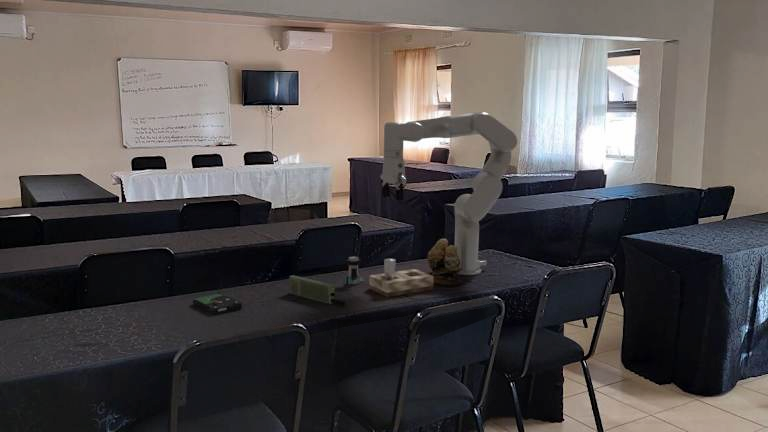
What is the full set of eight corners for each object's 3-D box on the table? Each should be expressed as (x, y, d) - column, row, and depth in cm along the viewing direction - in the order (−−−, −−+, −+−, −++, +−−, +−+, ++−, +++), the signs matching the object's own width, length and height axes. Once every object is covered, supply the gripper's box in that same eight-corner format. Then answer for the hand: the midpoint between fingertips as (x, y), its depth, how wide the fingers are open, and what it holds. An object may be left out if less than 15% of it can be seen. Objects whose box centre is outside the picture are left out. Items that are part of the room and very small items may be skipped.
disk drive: (243, 310, 217) (220, 300, 228) (242, 302, 217) (220, 292, 227) (214, 317, 210) (192, 305, 221) (214, 308, 210) (192, 297, 220)
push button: (359, 280, 254) (359, 255, 252) (366, 284, 249) (366, 258, 248) (343, 282, 250) (344, 256, 249) (350, 286, 246) (350, 259, 244)
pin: (391, 284, 243) (391, 258, 241) (397, 287, 240) (397, 260, 238) (382, 286, 241) (382, 259, 239) (388, 288, 237) (388, 261, 236)
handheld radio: (295, 292, 238) (348, 305, 223) (288, 294, 235) (341, 308, 220) (294, 274, 236) (347, 286, 221) (287, 276, 234) (340, 289, 219)
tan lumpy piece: (471, 284, 251) (472, 240, 248) (447, 290, 244) (449, 244, 241) (439, 274, 265) (440, 232, 262) (416, 279, 258) (417, 235, 255)
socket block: (414, 281, 253) (414, 269, 252) (433, 289, 243) (433, 276, 242) (369, 288, 243) (369, 275, 242) (386, 297, 233) (387, 283, 232)
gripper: (414, 155, 252) (413, 200, 255) (389, 152, 267) (389, 195, 269) (397, 156, 248) (396, 201, 251) (373, 153, 263) (373, 196, 266)
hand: (392, 198), depth 260 cm, fingers open, 9 cm apart
